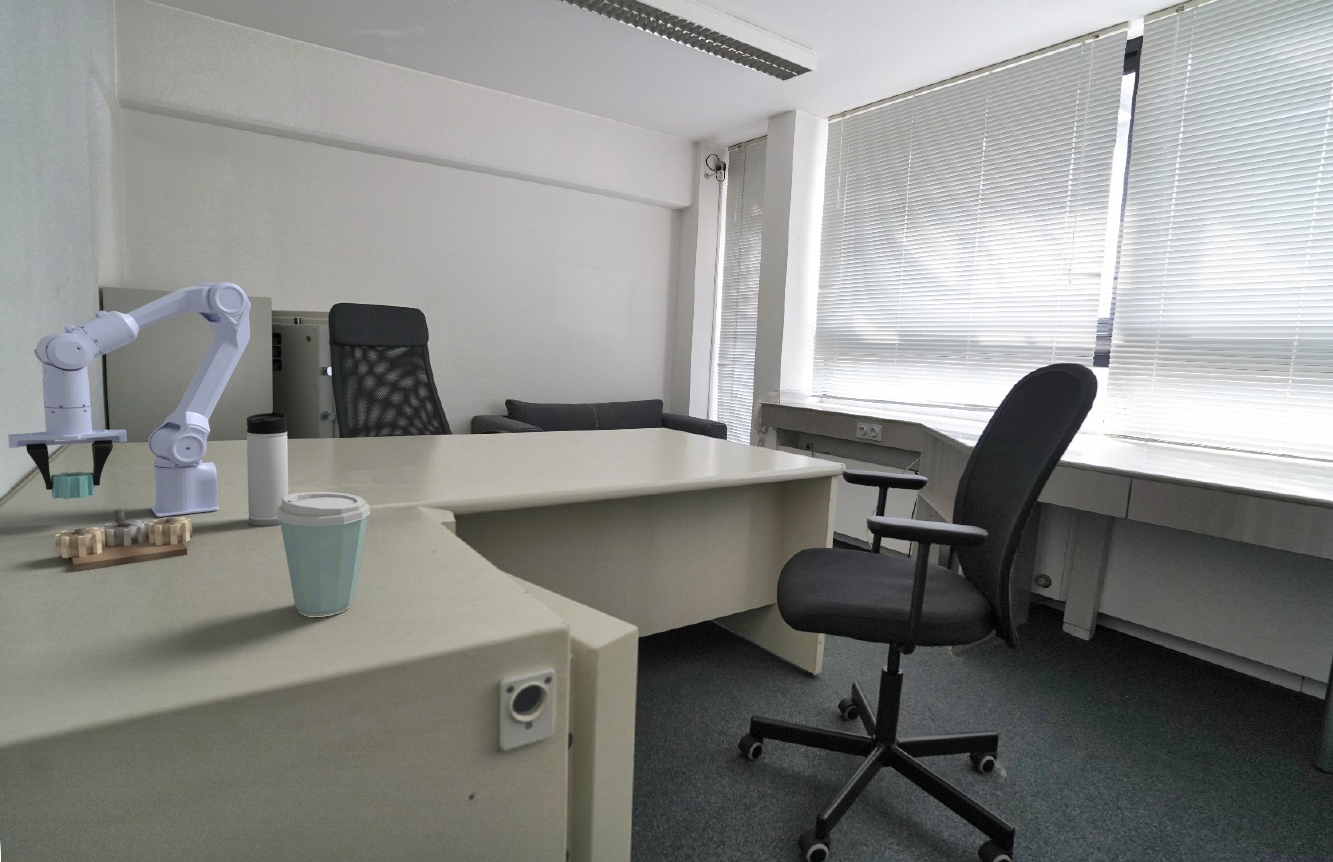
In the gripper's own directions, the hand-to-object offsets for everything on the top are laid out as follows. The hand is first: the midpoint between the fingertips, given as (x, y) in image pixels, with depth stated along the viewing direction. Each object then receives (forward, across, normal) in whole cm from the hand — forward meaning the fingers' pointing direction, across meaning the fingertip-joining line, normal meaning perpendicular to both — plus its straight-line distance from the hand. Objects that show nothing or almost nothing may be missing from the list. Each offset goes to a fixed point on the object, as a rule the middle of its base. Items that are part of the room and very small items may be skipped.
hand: (73, 486), depth 111 cm
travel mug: (+7, +26, -13) cm, 30 cm away
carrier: (+7, +5, -17) cm, 19 cm away
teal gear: (+2, 0, 0) cm, 2 cm away
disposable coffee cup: (+7, +21, -59) cm, 63 cm away
